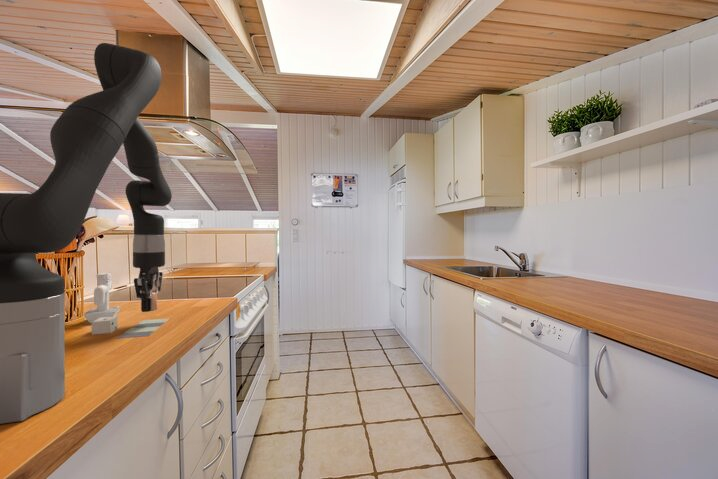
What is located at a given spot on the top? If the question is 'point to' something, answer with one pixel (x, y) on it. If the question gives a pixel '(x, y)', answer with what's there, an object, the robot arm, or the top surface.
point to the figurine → (102, 299)
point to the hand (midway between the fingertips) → (149, 309)
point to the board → (143, 328)
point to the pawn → (153, 299)
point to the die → (104, 325)
